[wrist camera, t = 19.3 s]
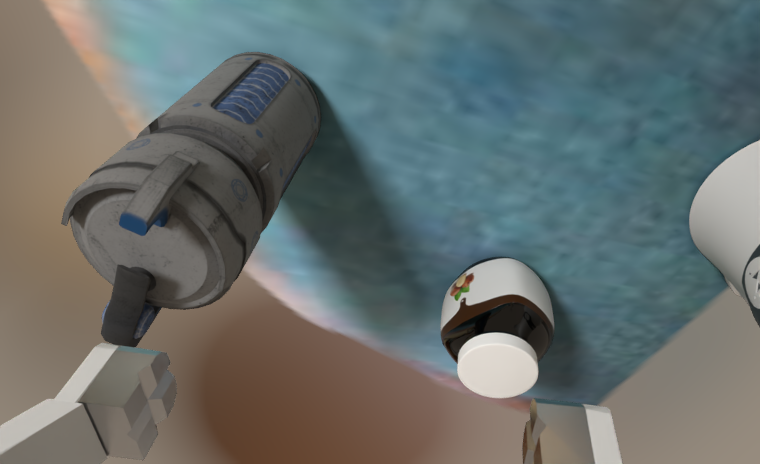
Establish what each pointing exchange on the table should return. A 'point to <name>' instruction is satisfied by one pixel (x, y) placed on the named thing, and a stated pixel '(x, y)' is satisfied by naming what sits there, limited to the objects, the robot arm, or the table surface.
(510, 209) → the table surface
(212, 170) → the beverage bottle
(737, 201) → the robot arm
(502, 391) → the spread jar
